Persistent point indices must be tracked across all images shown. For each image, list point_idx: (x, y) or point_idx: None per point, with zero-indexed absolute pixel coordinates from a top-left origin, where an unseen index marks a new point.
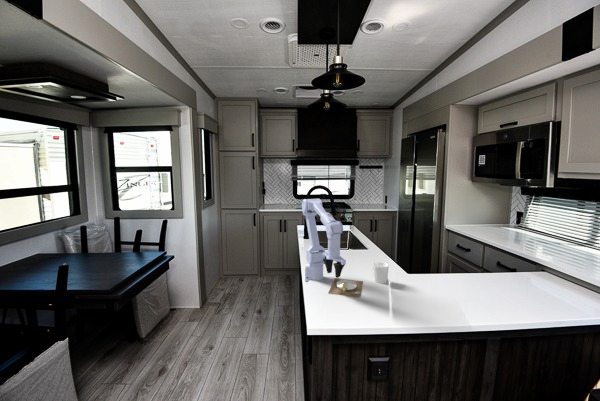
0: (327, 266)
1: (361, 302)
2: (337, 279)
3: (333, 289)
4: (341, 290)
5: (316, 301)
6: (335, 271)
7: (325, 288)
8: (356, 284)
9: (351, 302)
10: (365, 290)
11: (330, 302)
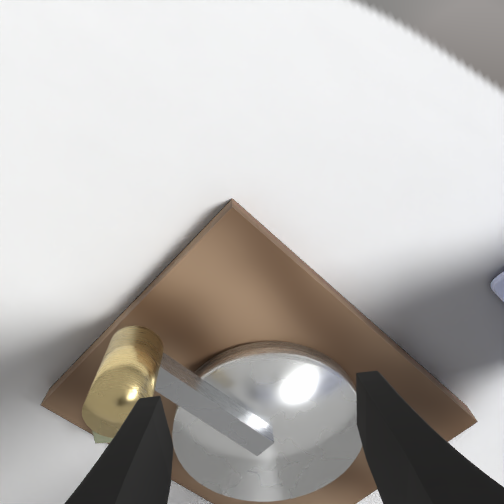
0: (409, 472)
1: (11, 377)
2: (435, 424)
3: (282, 297)
4: (227, 347)
5: (170, 7)
6: (116, 479)
7: (381, 258)
8: (218, 491)
9: (33, 313)
10: (182, 490)
11: (94, 144)
